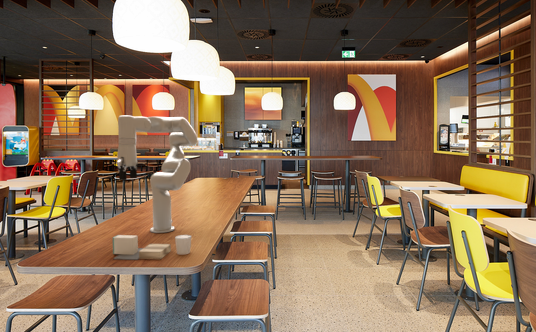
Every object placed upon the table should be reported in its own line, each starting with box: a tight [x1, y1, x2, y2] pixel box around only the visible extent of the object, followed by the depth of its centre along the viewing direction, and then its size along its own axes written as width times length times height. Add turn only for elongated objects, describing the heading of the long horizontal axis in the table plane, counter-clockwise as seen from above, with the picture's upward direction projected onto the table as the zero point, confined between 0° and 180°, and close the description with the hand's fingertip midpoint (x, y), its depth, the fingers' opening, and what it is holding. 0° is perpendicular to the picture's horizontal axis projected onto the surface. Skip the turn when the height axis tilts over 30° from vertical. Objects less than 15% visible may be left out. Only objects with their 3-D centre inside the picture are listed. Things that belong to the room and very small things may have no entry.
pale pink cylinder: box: [174, 234, 192, 256], centre depth 145 cm, size 7×7×7 cm
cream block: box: [112, 234, 139, 255], centre depth 143 cm, size 4×7×9 cm
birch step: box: [138, 243, 172, 260], centre depth 142 cm, size 11×9×3 cm
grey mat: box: [113, 247, 144, 261], centre depth 143 cm, size 14×10×1 cm
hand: (128, 179), depth 158 cm, fingers open, 9 cm apart
